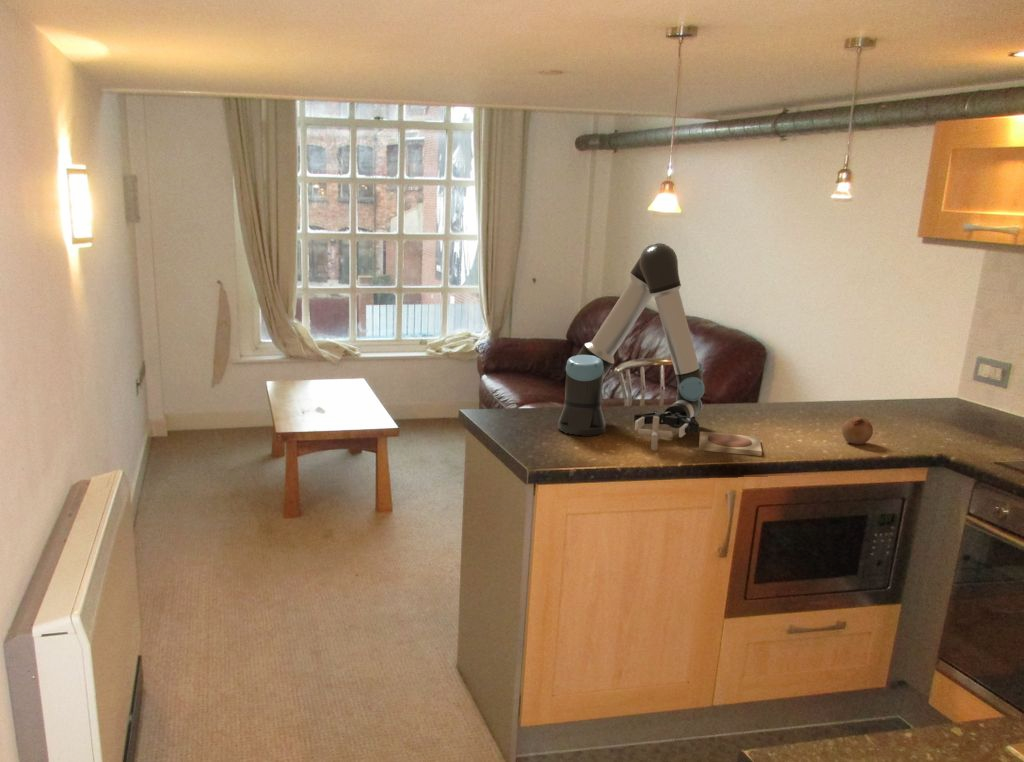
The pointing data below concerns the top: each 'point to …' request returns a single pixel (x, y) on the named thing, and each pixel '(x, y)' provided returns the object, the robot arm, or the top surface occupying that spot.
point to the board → (730, 443)
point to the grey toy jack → (655, 433)
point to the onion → (857, 430)
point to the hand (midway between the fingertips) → (657, 429)
